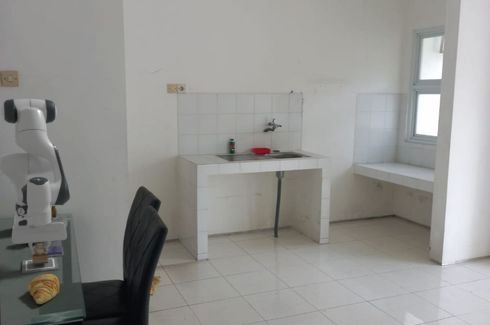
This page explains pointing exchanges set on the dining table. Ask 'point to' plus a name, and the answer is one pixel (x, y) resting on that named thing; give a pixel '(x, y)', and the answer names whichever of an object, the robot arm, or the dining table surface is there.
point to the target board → (39, 266)
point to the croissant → (44, 287)
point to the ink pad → (55, 251)
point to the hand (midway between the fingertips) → (39, 252)
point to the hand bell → (53, 212)
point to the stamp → (40, 254)
